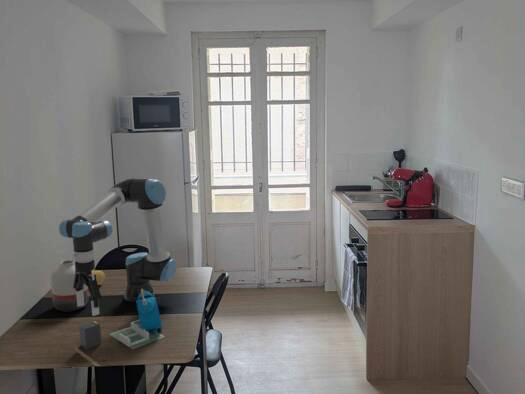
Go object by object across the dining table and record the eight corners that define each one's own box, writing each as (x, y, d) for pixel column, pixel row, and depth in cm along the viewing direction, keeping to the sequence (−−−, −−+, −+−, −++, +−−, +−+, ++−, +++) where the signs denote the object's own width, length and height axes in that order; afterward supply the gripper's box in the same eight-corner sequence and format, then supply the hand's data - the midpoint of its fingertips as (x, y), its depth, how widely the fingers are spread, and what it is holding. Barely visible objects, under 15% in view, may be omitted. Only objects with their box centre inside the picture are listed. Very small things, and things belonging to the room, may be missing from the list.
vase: (65, 300, 267) (61, 256, 262) (95, 301, 263) (92, 257, 259) (46, 312, 250) (41, 266, 246) (77, 315, 247) (74, 267, 243)
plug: (81, 348, 213) (79, 324, 211) (96, 342, 218) (94, 319, 216) (86, 352, 210) (84, 328, 208) (102, 346, 214) (100, 323, 212)
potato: (79, 284, 289) (78, 268, 288) (106, 283, 292) (105, 266, 290) (76, 290, 280) (74, 274, 278) (103, 289, 282) (102, 272, 280)
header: (119, 340, 217) (118, 332, 216) (139, 333, 223) (139, 325, 223) (128, 346, 211) (128, 338, 210) (149, 339, 218) (149, 331, 217)
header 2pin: (131, 328, 228) (130, 322, 228) (144, 324, 233) (143, 318, 232) (137, 332, 224) (137, 326, 224) (150, 327, 229) (150, 321, 228)
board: (108, 336, 223) (108, 333, 223) (141, 325, 234) (141, 322, 234) (132, 351, 209) (132, 348, 209) (165, 339, 220) (165, 336, 220)
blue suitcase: (163, 338, 221) (161, 294, 217) (138, 341, 218) (136, 296, 215) (160, 322, 237) (158, 281, 233) (137, 325, 234) (135, 283, 231)
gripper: (62, 256, 213) (66, 304, 217) (89, 269, 195) (93, 321, 199) (79, 252, 218) (83, 299, 222) (107, 264, 201) (111, 315, 204)
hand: (88, 310), depth 211 cm, fingers open, 13 cm apart
